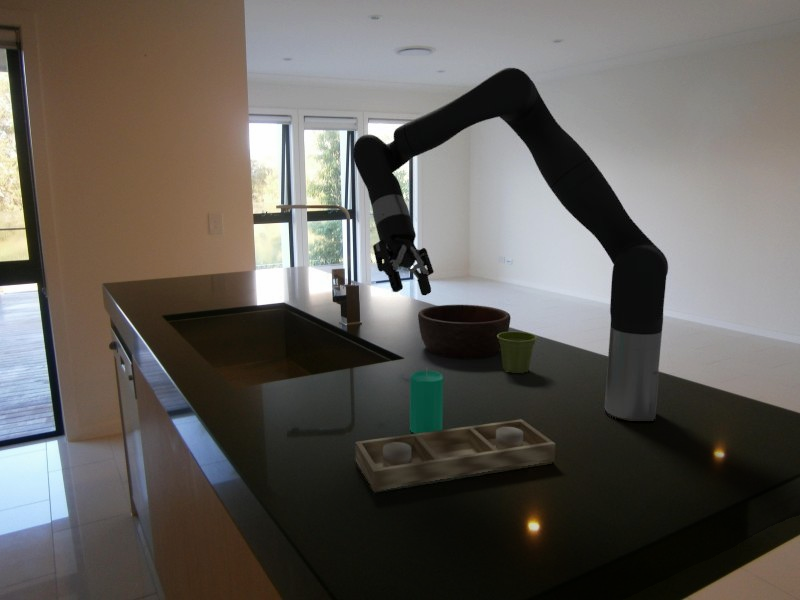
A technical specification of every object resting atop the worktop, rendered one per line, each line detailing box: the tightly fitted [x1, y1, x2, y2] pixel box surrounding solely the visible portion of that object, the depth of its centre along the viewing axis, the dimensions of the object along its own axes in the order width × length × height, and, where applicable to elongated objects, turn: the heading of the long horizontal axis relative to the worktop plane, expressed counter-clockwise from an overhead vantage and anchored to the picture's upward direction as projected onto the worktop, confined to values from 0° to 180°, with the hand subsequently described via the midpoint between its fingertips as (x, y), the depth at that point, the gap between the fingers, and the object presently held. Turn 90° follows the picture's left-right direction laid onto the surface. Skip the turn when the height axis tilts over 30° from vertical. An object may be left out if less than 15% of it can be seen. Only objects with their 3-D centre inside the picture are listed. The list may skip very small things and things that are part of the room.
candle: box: [409, 367, 444, 434], centre depth 107 cm, size 6×6×12 cm
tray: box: [354, 418, 556, 492], centre depth 95 cm, size 30×11×4 cm, turn 109°
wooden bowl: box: [417, 304, 511, 359], centre depth 161 cm, size 25×25×10 cm
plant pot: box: [497, 331, 538, 374], centre depth 143 cm, size 9×9×9 cm
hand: (413, 292), depth 118 cm, fingers open, 8 cm apart
